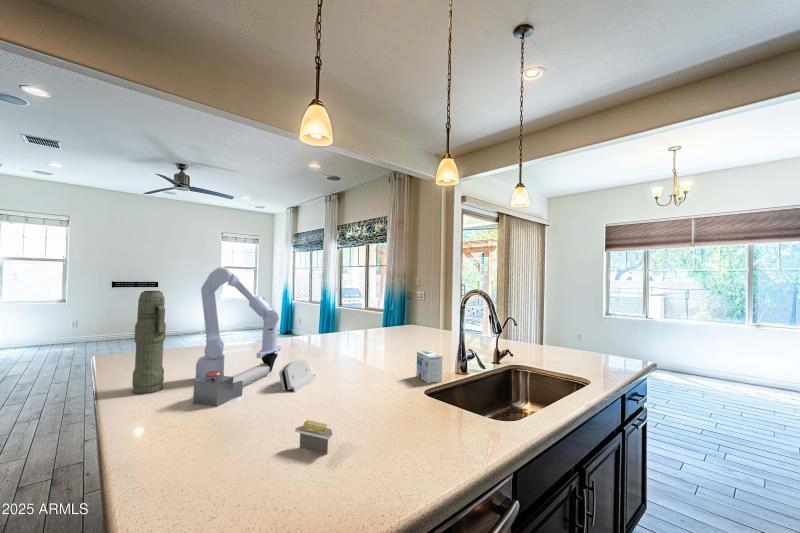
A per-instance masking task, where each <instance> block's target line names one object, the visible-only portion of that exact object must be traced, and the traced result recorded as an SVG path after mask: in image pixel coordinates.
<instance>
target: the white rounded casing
mask: <svg viewBox="0 0 800 533" xmlns="http://www.w3.org/2000/svg"><path fill="white" fill-rule="evenodd" d="M278 374H279V380H280V383H281V384H280V385H281V390H282V392H285V391H287V390H288V391H290V390H293V392H294V393H297V392H298V391H300V390H301V389H302V388H304V387H306V386H307V385H309V384H311V383H312V382H314V381H315V380H316V375H315V374H313V373H312V372H311V370H310V366H309V363H308V361H307V360H305V359H297V360H294V361H291V362H288V363H287V364H285V365H284V366H283V367H281V369H280V370H279V372H278ZM313 380H314V381H313ZM311 381H312V382H311Z"/></svg>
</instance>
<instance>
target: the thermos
mask: <svg viewBox="0 0 800 533" xmlns="http://www.w3.org/2000/svg"><path fill="white" fill-rule="evenodd" d="M137 301H138V303H137V321H136V323H135V325H134V339H133V340H134V343H135V356H134V359H135V360H134V370H133V372H132V383H131V384H132V394H133V395H149V394H154V393H157V392H160V391H162V390H163V388H164V387H163V384H164V383H163V382H164V378H165V370H164V367H163V357H164V356H163V355H164V354H163V353H164V341H165V340H166V328H167V326H166V322H165V318H166V316H165V315H166V309H165V301H166V300H165V296H164V293H163V291H160V290H143V291H141V293H140V295H139V297H138V299H137Z"/></svg>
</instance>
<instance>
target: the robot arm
mask: <svg viewBox="0 0 800 533" xmlns="http://www.w3.org/2000/svg"><path fill="white" fill-rule="evenodd" d="M227 282H228V283H227ZM226 283H227V285H228V286H230V287H234V288H235V289H236V290H237V291H239V293H241V294H242V296H244V297H245V298H246V299H247V300H248V306H249V307H250V308H251V309H252V310H253V311H254V312H255V313H256V314H257V315H258V316H259V317H261V318H262V321H263V327H262V340H261V341H262V342H261V349H260V350H259V352H256V358H257V359H261V360H262V363H264V364H267V365H268V366H269V367H270V372H269V373H271V372H272V371H273V367H274V365H275V362H276V359H277V358H278V355H279V354H278V352H281V351H282V345H277V344H278V322H279V319H280V318H279V314H278V312H276V310H275V309H274V307H273V306H272V305H270V304H269V303H268V302H267V301H266V298H265V297H264V296H261V295H255V294H254V293H253V292H252V290H251V289H250V288H249V287H248V286H247V285H246V284H245V283H244V282H243V280H242V279H241V278H240V277H238V275H235V274H234V273H233V272H231V270H229V269H228V268H226V267H222V266H221V267H217V268H215V269H214V270H213V271H211V272H210V273H209V274H208V276H207V278H206V280H205V281H204V282H203V284H202V286H201V288H200V293H201V294H200V295H201V300H202V302H201V303H202V308H203V317H204V318H203V319H204V326H205V327H204V328H205V341H206V345H205V347H204V355H203V356H201V357H199V358H198V360H197V361H196V364H195V379H194V380H193V382H194V381H195V380H198V379H200V378H203V377H206V376H205V373H207V372H210V371H221V375H220V376H225V375H224V374H225V354H224V347H225V346H224V345H225V343H224V342H223V340H222V338H221V333H220V327H219V318H218V310H217V298H216V291H217V290H218V289H220V287H221V286H223V285H224V284H226Z"/></svg>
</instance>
